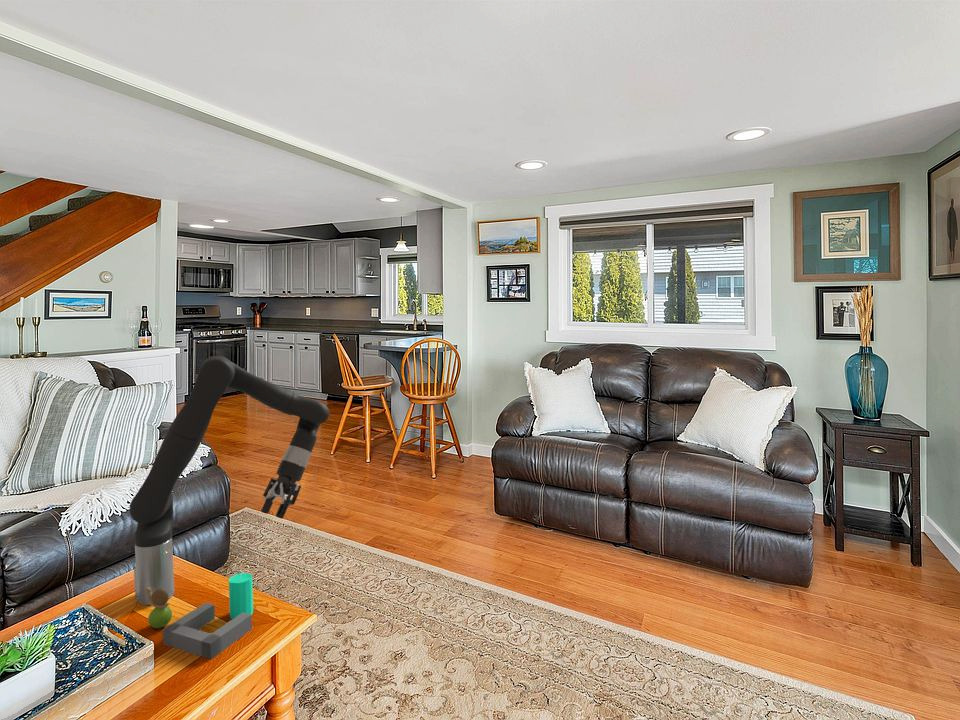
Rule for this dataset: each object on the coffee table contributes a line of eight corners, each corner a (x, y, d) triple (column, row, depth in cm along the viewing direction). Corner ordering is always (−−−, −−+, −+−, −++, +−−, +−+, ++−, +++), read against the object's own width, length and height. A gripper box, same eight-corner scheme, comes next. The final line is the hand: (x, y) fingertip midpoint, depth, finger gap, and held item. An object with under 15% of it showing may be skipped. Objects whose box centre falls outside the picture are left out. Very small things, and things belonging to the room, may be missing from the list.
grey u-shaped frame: (163, 644, 130) (162, 629, 130) (206, 616, 142) (206, 602, 142) (211, 659, 125) (210, 643, 124) (251, 629, 137) (251, 614, 137)
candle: (244, 621, 140) (242, 579, 139) (224, 618, 142) (223, 576, 140) (257, 609, 146) (256, 568, 145) (239, 606, 147) (237, 566, 146)
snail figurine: (153, 619, 140) (151, 577, 139) (176, 620, 140) (175, 578, 139) (140, 632, 135) (138, 588, 134) (164, 632, 135) (162, 589, 134)
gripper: (272, 457, 161) (248, 508, 155) (296, 461, 152) (273, 515, 146) (291, 465, 166) (269, 515, 160) (316, 469, 157) (294, 522, 151)
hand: (271, 515), depth 153 cm, fingers open, 8 cm apart
